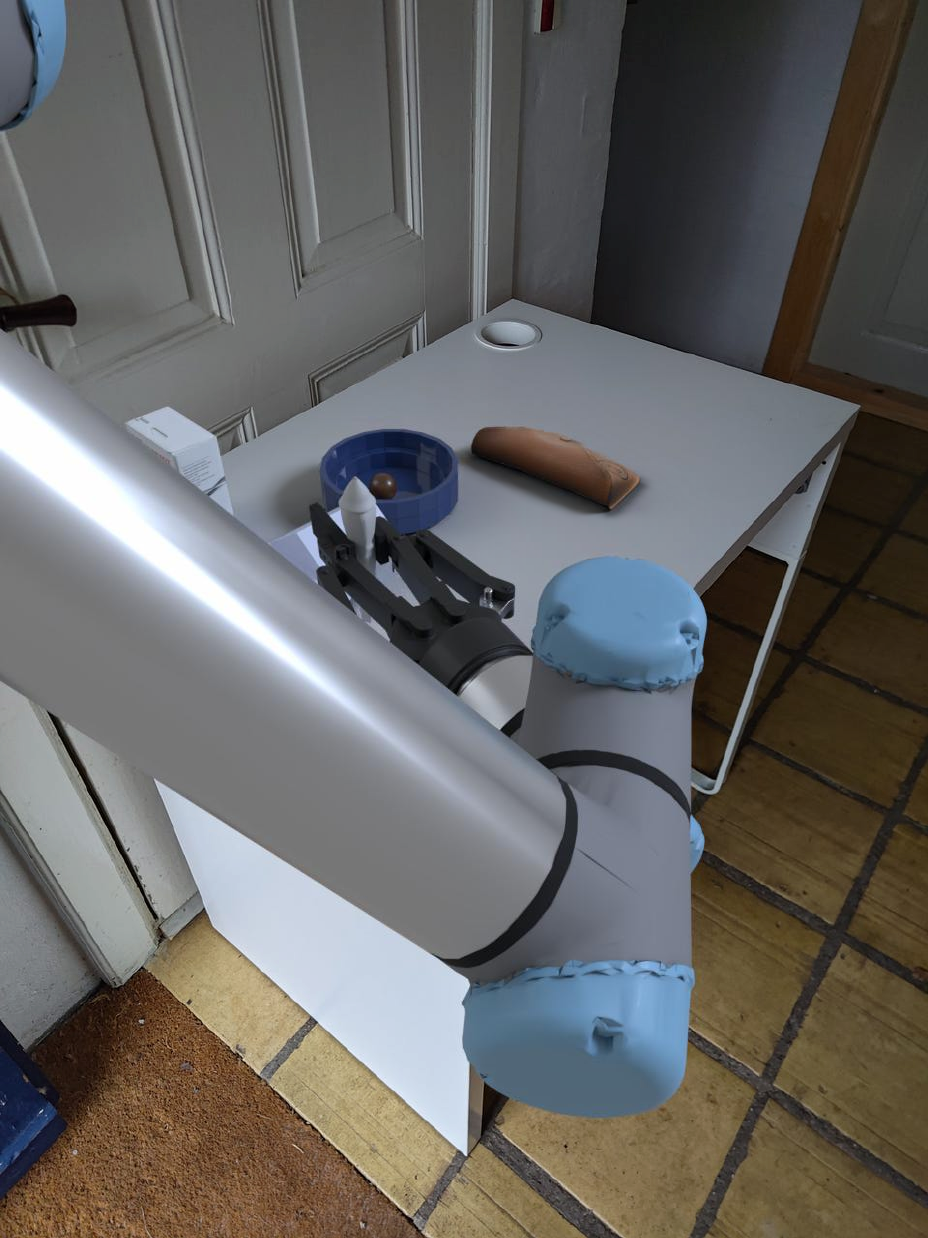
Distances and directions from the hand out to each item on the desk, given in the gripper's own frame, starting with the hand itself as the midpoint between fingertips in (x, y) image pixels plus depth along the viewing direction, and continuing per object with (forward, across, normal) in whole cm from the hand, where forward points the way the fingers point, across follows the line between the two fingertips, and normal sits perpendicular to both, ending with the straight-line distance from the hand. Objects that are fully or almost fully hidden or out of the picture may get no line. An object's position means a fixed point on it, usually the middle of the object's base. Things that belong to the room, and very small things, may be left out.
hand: (330, 512), depth 69 cm
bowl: (+16, +13, -13) cm, 24 cm away
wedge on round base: (+7, +1, -13) cm, 15 cm away
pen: (-5, 0, -8) cm, 9 cm away
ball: (+15, +12, -10) cm, 22 cm away
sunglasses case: (+11, +32, -13) cm, 36 cm away
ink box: (+21, -6, -13) cm, 26 cm away
